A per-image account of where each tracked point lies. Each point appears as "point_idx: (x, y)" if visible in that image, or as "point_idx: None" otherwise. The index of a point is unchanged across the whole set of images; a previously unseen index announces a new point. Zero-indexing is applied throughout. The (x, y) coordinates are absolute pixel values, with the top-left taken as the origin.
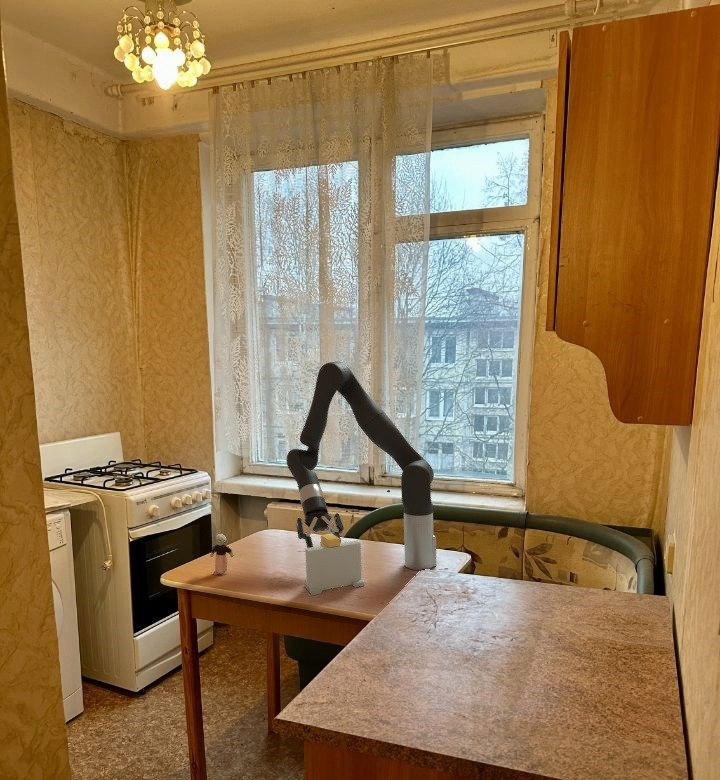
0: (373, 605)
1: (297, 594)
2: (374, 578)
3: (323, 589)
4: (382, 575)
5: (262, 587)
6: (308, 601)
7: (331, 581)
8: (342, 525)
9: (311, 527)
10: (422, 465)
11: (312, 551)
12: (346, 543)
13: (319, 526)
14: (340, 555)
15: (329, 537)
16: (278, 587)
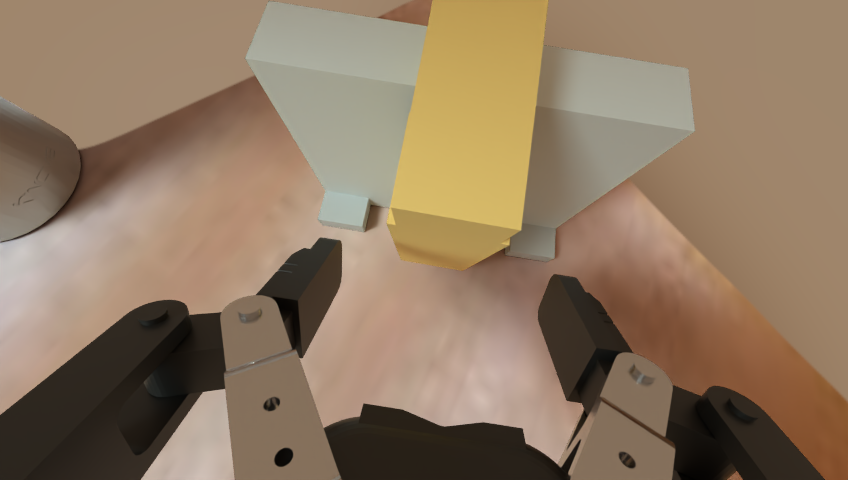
0: (408, 19)
1: (595, 209)
2: (268, 173)
3: None
4: (221, 180)
5: (716, 356)
6: None
7: None
8: (99, 343)
9: (628, 435)
10: None
11: (650, 68)
12: (360, 48)
13: (466, 445)
14: None
15: (497, 60)
16: (650, 315)
